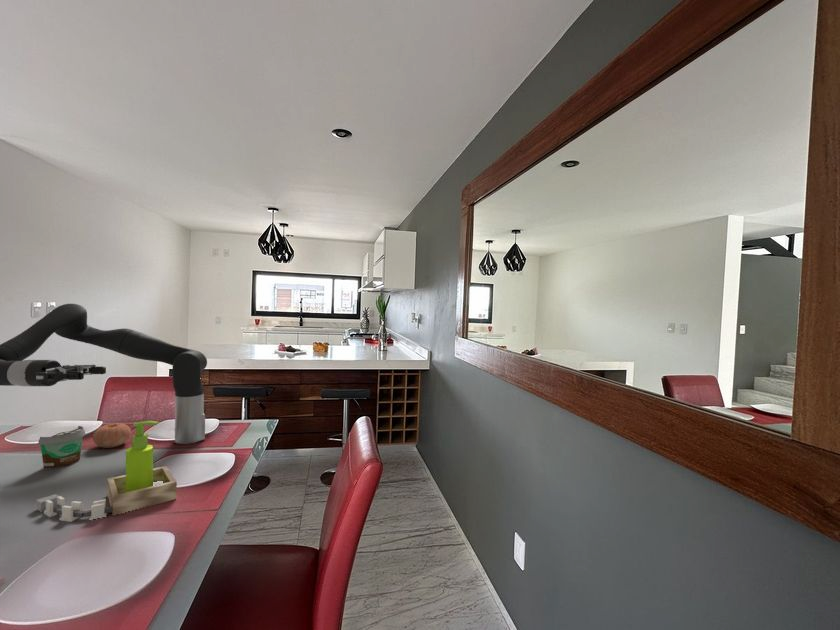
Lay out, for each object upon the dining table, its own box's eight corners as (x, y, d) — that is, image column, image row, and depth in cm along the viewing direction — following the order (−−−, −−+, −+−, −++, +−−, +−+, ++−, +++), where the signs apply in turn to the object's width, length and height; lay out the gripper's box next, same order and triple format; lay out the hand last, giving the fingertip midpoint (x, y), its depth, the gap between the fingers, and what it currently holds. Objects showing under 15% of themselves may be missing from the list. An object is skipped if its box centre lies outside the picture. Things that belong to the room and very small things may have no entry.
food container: (54, 472, 119) (54, 439, 119) (38, 470, 121) (37, 437, 120) (95, 456, 132) (95, 426, 131) (80, 455, 133) (80, 425, 132)
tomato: (128, 438, 149) (128, 417, 149) (133, 446, 142) (133, 424, 141) (90, 445, 142) (90, 423, 141) (94, 454, 134) (94, 430, 134)
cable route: (51, 502, 102) (51, 490, 102) (115, 512, 98) (115, 499, 98) (24, 514, 96) (24, 501, 96) (91, 525, 92) (91, 511, 92)
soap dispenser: (156, 498, 106) (157, 423, 105) (124, 504, 102) (125, 427, 101) (157, 489, 111) (158, 417, 110) (126, 495, 107) (127, 421, 106)
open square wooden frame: (166, 481, 116) (166, 465, 115) (176, 498, 106) (176, 481, 106) (107, 495, 107) (107, 478, 106) (112, 516, 97) (112, 497, 97)
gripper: (56, 381, 122) (112, 380, 123) (11, 391, 107) (74, 391, 108) (56, 356, 121) (111, 356, 122) (10, 363, 107) (74, 363, 108)
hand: (94, 372), depth 115 cm, fingers open, 8 cm apart
